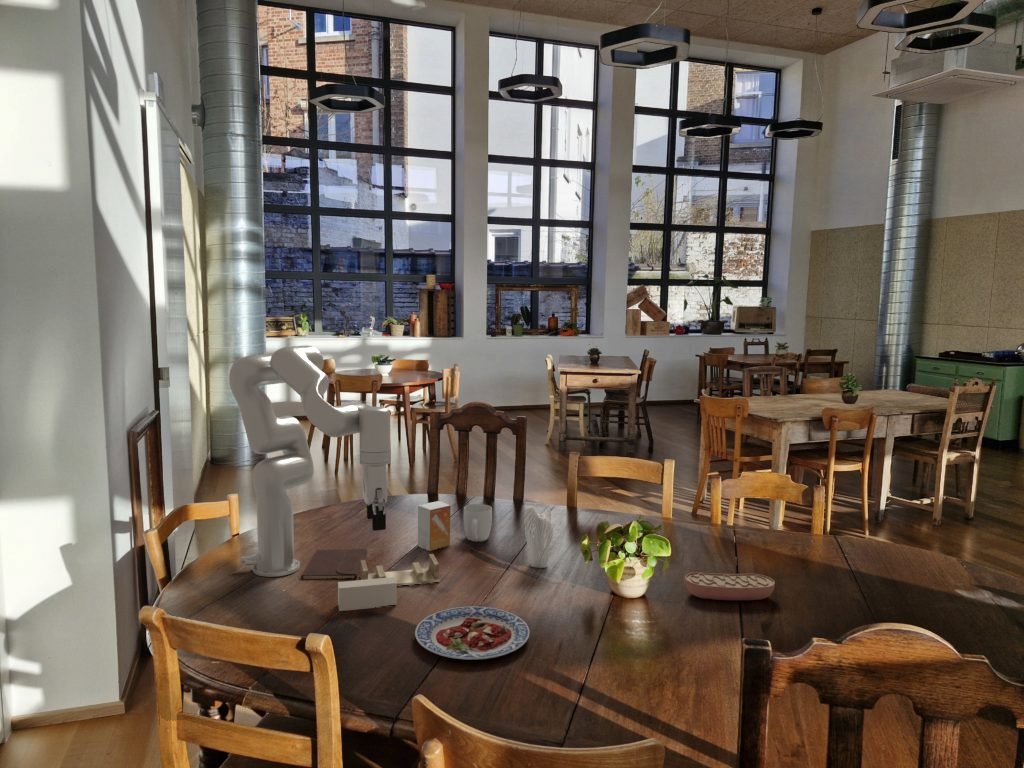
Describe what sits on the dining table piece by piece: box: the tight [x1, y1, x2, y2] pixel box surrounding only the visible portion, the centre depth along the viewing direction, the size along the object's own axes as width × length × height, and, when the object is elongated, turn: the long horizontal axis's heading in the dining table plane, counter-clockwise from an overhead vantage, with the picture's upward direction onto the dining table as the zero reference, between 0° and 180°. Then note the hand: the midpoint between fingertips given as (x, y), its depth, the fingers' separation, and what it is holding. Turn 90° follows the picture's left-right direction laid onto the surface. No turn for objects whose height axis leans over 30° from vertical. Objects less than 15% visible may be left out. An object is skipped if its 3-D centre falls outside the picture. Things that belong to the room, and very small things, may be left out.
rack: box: [359, 553, 440, 586], centre depth 201 cm, size 20×9×5 cm, turn 107°
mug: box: [462, 503, 493, 543], centre depth 233 cm, size 13×9×10 cm
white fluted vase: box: [523, 505, 554, 569], centre depth 213 cm, size 8×8×18 cm
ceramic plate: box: [414, 605, 530, 661], centre depth 168 cm, size 26×26×3 cm
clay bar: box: [337, 577, 398, 612], centre depth 185 cm, size 14×4×6 cm, turn 106°
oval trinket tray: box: [684, 571, 776, 601], centre depth 193 cm, size 23×10×5 cm, turn 89°
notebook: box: [300, 548, 368, 580], centre depth 211 cm, size 15×20×2 cm
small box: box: [417, 500, 452, 552], centre depth 227 cm, size 8×6×13 cm
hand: (376, 523), depth 186 cm, fingers open, 9 cm apart
